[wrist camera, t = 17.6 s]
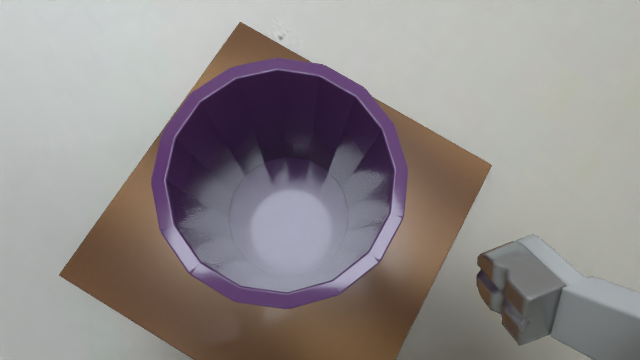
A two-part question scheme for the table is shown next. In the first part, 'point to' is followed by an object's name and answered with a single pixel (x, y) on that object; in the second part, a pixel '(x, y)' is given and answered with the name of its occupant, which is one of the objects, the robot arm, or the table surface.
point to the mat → (267, 322)
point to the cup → (279, 183)
